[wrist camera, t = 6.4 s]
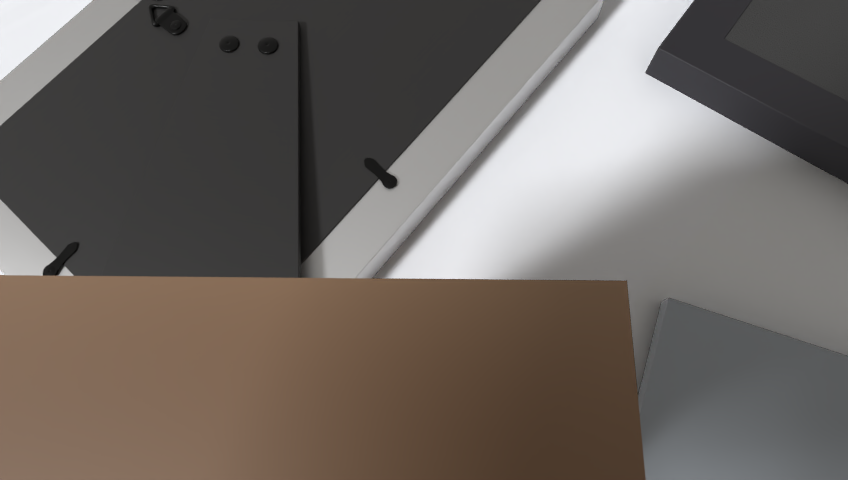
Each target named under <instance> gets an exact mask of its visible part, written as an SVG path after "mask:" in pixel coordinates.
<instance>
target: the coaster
mask: <svg viewBox="0 0 848 480" xmlns="http://www.w3.org/2000/svg"><path fill="white" fill-rule="evenodd" d="M638 403H639V414H640V424H641V435H642V445H643V456H644V466H645V477H646V480H848V356H846V355H843V354H840V353H837V352H834V351H831V350H828V349H825V348H822V347H819V346H816V345H812V344H809V343H806V342H803V341H800V340H797V339H794V338H791V337H788V336H785V335H782V334H779V333H776V332H773V331H769V330H766V329H763V328H760V327H757V326H754V325H751V324H748V323H745V322H742V321H739V320H736V319H733V318H730V317H727V316H723V315H720V314H717V313H714V312H711V311H708V310H705V309H702V308H699V307H696V306H693V305H690V304H687V303H684V302H680V301H677V300H674V299H671V298H667V299H665V300H663V301H662V302H661V306H660V310H659V314H658V318H657V322H656V326H655V330H654V334H653V338H652V342H651V346H650V350H649V354H648V358H647V362H646V366H645V370H644V374H643V378H642V382H641V386H640V390H639V394H638Z"/></svg>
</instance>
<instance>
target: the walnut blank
mask: <svg viewBox="0 0 848 480" xmlns="http://www.w3.org/2000/svg"><path fill="white" fill-rule="evenodd" d="M0 480H646V477H645V466H644V456H643V445H642V435H641V424H640V414H639V403H638V393H637V382H636V372H635V361H634V351H633V340H632V330H631V319H630V308H629V298H628V287H627V281H601V280H488V279H375V278H262V277H149V276H36V275H0Z"/></svg>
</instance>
